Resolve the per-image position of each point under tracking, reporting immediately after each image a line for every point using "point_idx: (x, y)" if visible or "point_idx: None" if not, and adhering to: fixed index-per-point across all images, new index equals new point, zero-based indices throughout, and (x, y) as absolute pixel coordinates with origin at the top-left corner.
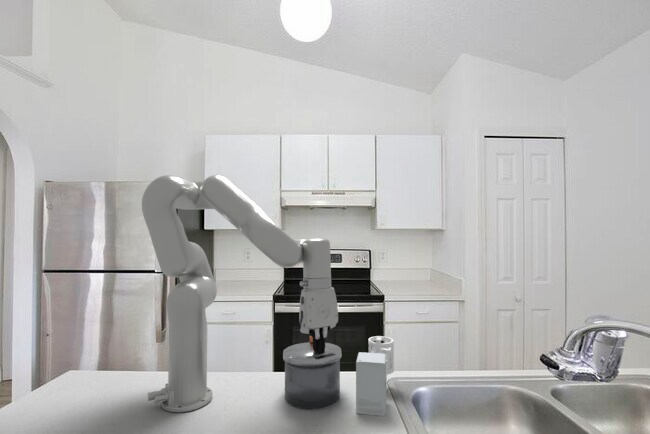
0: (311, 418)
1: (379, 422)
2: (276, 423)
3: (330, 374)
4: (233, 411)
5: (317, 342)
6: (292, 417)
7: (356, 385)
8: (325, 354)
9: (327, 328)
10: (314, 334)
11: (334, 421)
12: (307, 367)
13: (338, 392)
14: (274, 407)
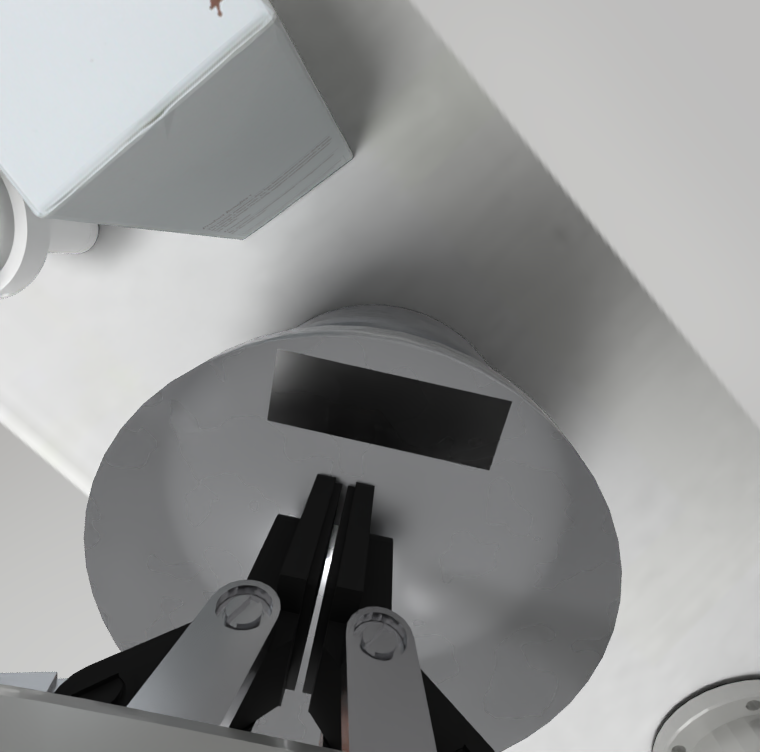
0: (531, 292)
1: (334, 2)
2: (662, 376)
3: (375, 327)
4: (699, 572)
5: (369, 585)
6: (580, 362)
7: (326, 108)
8: (343, 439)
9: (140, 692)
10: (414, 702)
11: (481, 190)
12: None
13: (308, 321)
14: None
